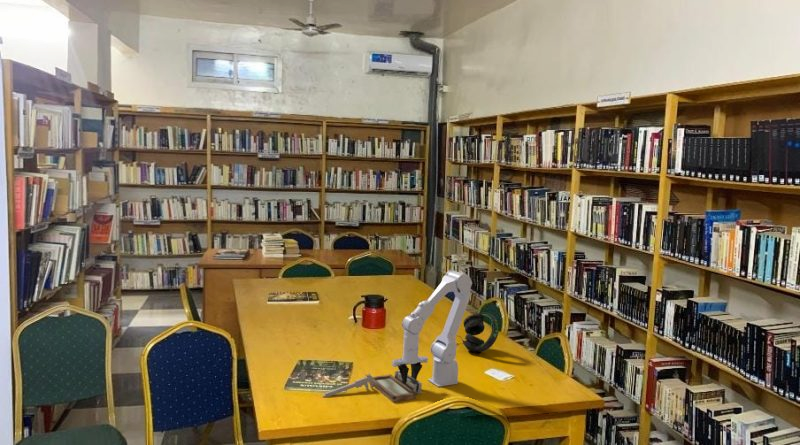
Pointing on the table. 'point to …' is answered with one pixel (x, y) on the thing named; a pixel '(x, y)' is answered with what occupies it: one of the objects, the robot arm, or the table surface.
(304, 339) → the table surface
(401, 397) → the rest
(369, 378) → the caliper
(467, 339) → the headset
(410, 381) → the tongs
